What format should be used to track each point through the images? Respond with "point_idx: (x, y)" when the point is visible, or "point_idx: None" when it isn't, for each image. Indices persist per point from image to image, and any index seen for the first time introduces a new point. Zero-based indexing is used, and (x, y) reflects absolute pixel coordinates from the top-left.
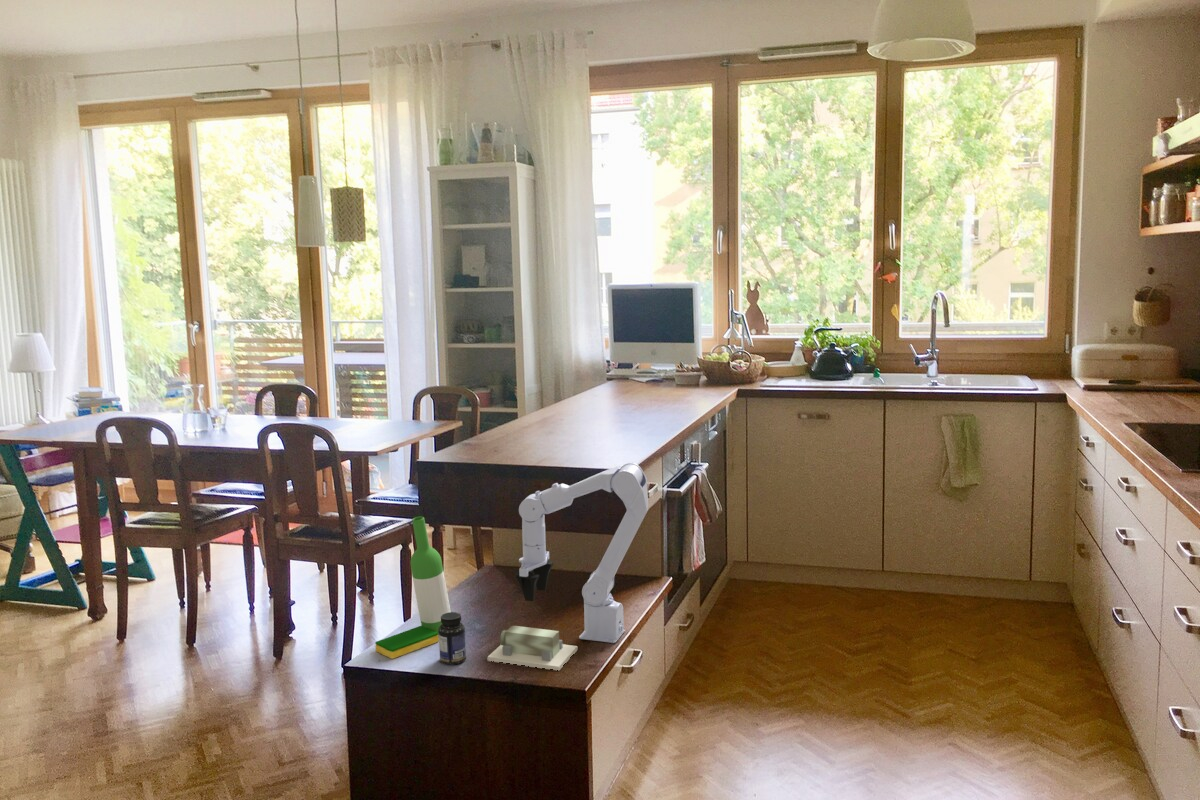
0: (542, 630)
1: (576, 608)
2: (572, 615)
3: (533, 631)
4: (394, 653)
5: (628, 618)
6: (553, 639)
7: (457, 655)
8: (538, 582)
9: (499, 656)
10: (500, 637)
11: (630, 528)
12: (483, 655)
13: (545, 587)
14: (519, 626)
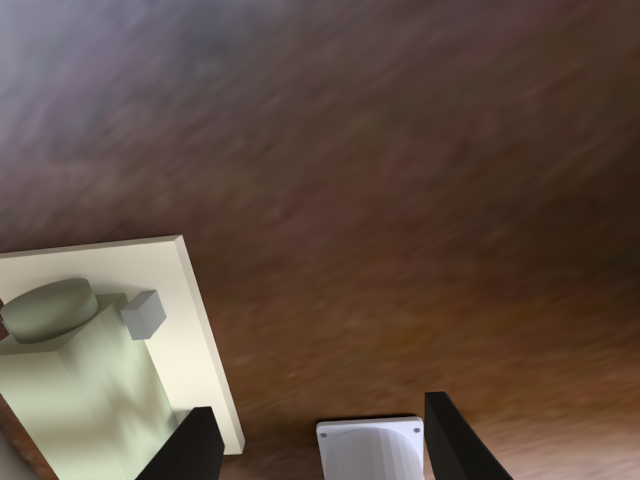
0: (107, 467)
1: (601, 314)
2: (519, 330)
3: (74, 446)
4: None
5: (526, 472)
6: None
7: None
8: (449, 466)
9: (15, 297)
10: (3, 308)
11: None
12: (17, 213)
13: (432, 468)
14: (71, 383)
